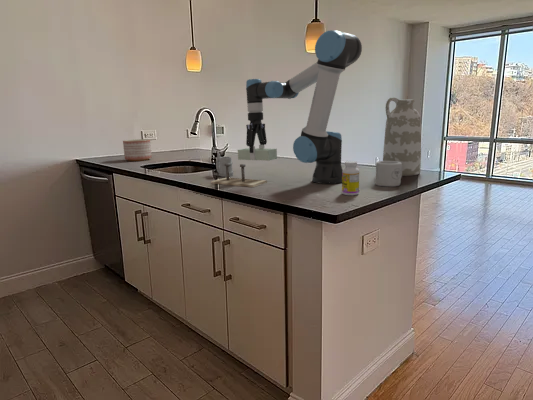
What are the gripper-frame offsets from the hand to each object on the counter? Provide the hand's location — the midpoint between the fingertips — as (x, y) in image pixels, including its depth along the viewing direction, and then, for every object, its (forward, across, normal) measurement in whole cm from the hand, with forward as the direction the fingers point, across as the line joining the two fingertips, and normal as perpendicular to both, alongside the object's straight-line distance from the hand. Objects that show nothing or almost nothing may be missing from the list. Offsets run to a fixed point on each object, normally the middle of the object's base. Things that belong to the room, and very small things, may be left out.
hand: (257, 158), depth 197 cm
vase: (+12, -41, +60) cm, 74 cm away
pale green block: (0, 0, 0) cm, 0 cm away
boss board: (+10, +15, -2) cm, 18 cm away
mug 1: (+10, -1, -23) cm, 25 cm away
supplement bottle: (+12, +18, +54) cm, 58 cm away
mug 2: (+12, -9, +63) cm, 65 cm away
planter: (+7, -36, -129) cm, 134 cm away
